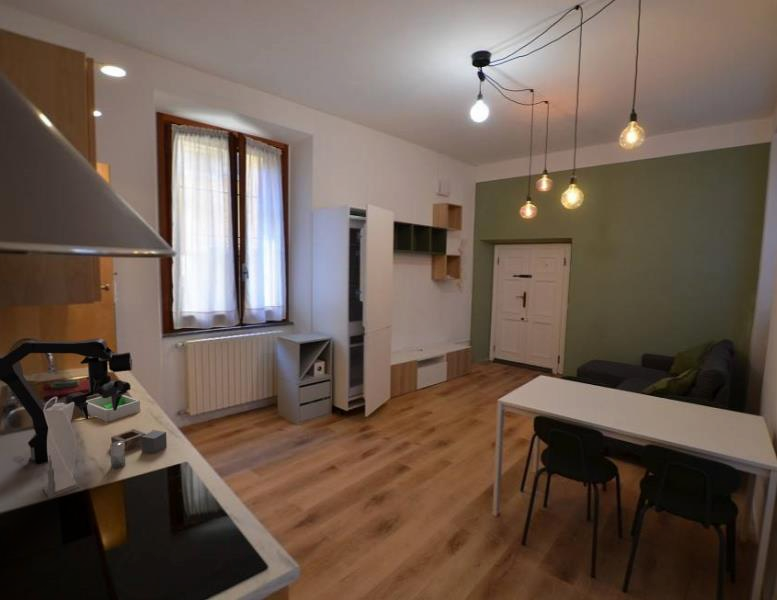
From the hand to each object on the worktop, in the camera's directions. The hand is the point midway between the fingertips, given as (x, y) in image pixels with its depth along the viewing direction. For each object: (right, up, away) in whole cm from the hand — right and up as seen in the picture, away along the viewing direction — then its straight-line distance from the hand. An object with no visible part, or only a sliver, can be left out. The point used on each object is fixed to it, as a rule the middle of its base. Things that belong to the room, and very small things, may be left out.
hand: (101, 414), depth 142 cm
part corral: (-21, -9, +35) cm, 41 cm away
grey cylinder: (+13, -15, -10) cm, 22 cm away
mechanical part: (-20, -9, +35) cm, 42 cm away
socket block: (+7, -13, +4) cm, 15 cm away
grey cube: (+18, -14, +2) cm, 23 cm away
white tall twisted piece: (+5, -16, -22) cm, 28 cm away
